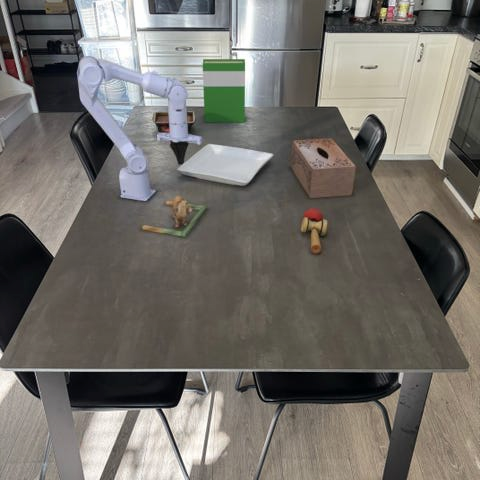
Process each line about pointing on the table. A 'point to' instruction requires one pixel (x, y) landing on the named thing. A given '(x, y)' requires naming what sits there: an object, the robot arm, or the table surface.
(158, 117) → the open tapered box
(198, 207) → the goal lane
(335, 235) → the table surface
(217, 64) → the hardback book
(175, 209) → the lion figurine
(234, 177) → the square plate
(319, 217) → the kendama
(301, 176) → the tissue box cover
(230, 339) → the table surface
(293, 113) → the table surface
